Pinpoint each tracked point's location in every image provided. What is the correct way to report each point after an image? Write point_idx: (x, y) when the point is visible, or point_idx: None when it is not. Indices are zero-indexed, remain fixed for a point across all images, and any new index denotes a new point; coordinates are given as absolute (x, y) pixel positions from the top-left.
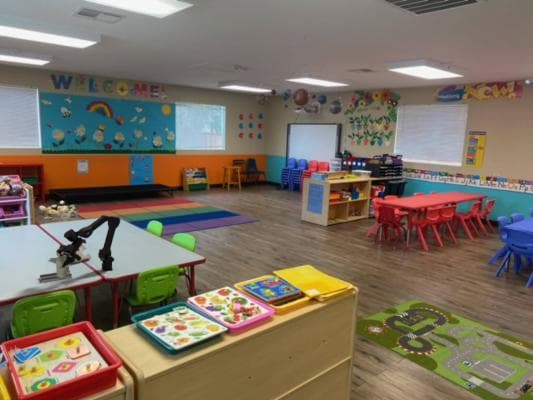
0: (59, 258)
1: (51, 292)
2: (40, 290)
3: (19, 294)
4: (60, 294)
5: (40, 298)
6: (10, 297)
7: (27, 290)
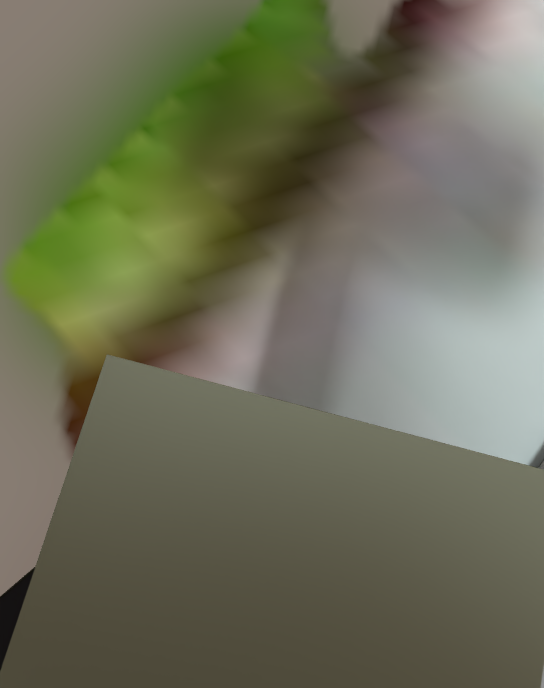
0: (192, 435)
1: (212, 236)
2: (375, 240)
3: (490, 90)
4: (72, 224)
5: (206, 79)
6: (505, 12)
7: (508, 194)
